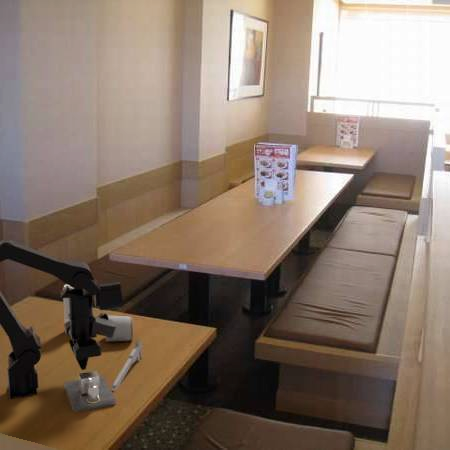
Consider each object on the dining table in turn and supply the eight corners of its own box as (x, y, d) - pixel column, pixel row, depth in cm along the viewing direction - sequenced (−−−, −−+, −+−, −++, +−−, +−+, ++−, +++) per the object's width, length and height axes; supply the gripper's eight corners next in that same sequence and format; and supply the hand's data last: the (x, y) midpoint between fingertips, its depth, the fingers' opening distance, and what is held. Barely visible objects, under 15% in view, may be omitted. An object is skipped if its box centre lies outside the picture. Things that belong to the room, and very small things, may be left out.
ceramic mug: (133, 344, 189) (133, 319, 187) (105, 345, 188) (105, 320, 186) (133, 330, 199) (132, 307, 198) (106, 332, 198) (105, 308, 196)
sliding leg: (81, 394, 156) (81, 378, 155) (79, 388, 158) (78, 373, 157) (99, 390, 157) (99, 375, 156) (97, 385, 160) (96, 370, 159)
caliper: (138, 358, 181) (138, 337, 179) (142, 358, 180) (141, 337, 179) (110, 392, 161) (109, 369, 160) (114, 392, 161) (114, 369, 160)
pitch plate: (73, 412, 151) (72, 393, 150) (64, 387, 163) (63, 369, 161) (115, 404, 155) (115, 385, 154) (103, 380, 166) (102, 363, 165)
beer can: (89, 330, 198) (87, 284, 195) (74, 337, 193) (72, 290, 190) (75, 326, 201) (73, 281, 198) (60, 332, 196) (58, 286, 193)
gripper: (121, 321, 155) (122, 380, 159) (105, 296, 172) (106, 350, 176) (74, 327, 151) (77, 387, 155) (62, 301, 168) (65, 356, 172)
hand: (83, 369), depth 164 cm, fingers closed
